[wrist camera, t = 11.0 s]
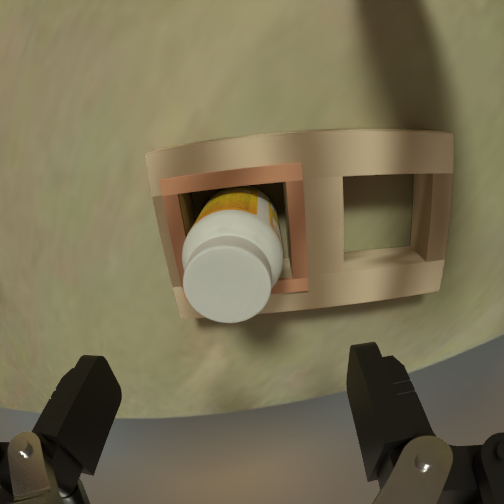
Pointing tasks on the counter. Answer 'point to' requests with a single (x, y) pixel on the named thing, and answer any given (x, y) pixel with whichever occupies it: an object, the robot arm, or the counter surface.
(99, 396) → the robot arm
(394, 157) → the cup caddy
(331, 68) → the counter surface
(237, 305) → the supplement bottle
